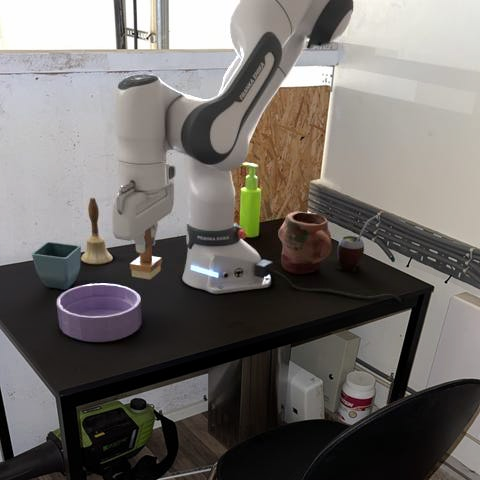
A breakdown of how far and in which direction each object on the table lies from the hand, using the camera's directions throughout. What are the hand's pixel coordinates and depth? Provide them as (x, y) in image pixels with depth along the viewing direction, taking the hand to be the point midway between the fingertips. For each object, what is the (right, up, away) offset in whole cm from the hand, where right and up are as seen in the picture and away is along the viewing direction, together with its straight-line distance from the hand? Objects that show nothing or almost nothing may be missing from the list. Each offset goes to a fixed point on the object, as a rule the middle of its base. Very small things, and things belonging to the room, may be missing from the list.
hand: (145, 248), depth 126 cm
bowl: (-12, -13, +14) cm, 22 cm away
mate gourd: (+48, +8, +48) cm, 69 cm away
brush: (0, -4, +3) cm, 5 cm away
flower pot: (-25, -1, +31) cm, 40 cm away
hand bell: (-20, +10, +46) cm, 51 cm away
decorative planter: (+36, +7, +46) cm, 58 cm away
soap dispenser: (+21, +23, +68) cm, 75 cm away
